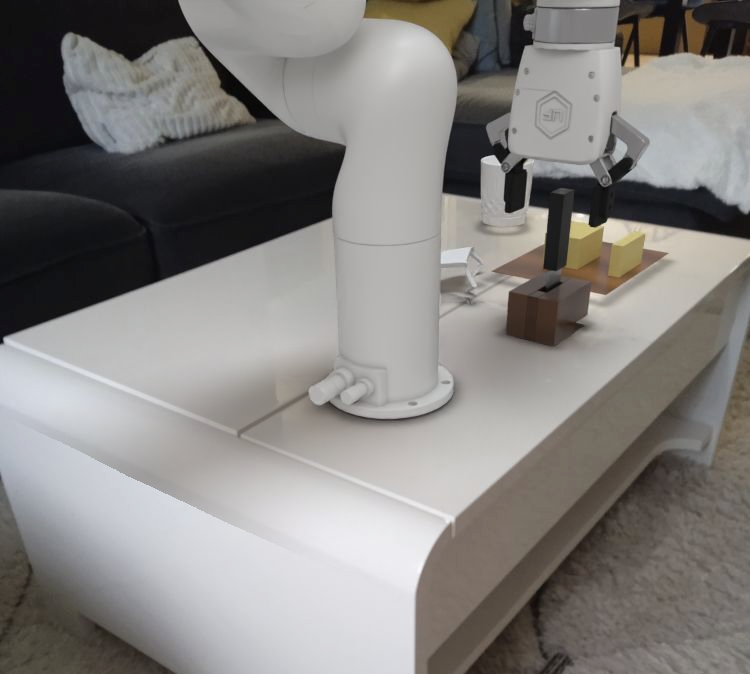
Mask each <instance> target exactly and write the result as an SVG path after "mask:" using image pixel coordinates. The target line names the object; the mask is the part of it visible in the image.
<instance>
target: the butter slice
mask: <svg viewBox="0 0 750 674" xmlns="http://www.w3.org/2000/svg"><path fill="white" fill-rule="evenodd" d="M646 235H647V233H646V232H644V231H638V230H635V231H632V232H631V233H629V234H627V235H625V236H624V237H622V238H620V239H619V240H617V241H615V242H613V243H614V244H612V249H611V256H610V264H609V271H608V276H612V277H617V278H619V277H621V276H622V275H624V274H625V273H627V272H628V271H630V270H632V269H633V268H635V267H636V266H638V265H639V264H641V260H642V254H643V249H644V247H645V240H646Z"/></svg>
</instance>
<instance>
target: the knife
mask: <svg viewBox="0 0 750 674" xmlns="http://www.w3.org/2000/svg"><path fill="white" fill-rule="evenodd" d="M574 197H575V189H570V188H565V187H560V188H557V189H555V190H552V191H551V192H549V202H548V212H547V223H546V232H547V233H546V232H545V233H546V243H545V242H544V243H545V254H544V265H543V269H547V270H548V271H547V277H546V288H545V293H547V292H549V291H551V290H552V289H554V288H556V287H557V286H559V285H560V281H561V271H562V268H563V267H565V266H566V264H567V255H568V245H569V236H570V227H571V221H572V219H573V218H572V216H573V209H574V208H573V207H574V199H575V198H574Z"/></svg>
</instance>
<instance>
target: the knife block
mask: <svg viewBox="0 0 750 674" xmlns="http://www.w3.org/2000/svg"><path fill="white" fill-rule="evenodd" d="M546 277H547V273H546V272H543V273H541V274H539V275H538V276H536V277H534V278H532V279H528V280H527V281H525V282H523V283H521V284H520V285H518V286H516V287H514V288H512V289H511V290H509V291H508V298H507V310H506V312H507V313H506V324H505V326H506V327H505V335H506V336H510V337H511V336H512V337H515V338H519V339H522V340H526V341H530V342H535V343H538V344H543V345H546V346H550V347H555V346H557V345H558V344H560V343H561V342H563V341H564V340H565V339H567V338H568V337H570V336H571V335H572V334H574V333H575V332H576V331H578V330H580V329H581V328H582V327H584V326H585V324H584V323H579V321H581V320H582V319H583V318H584V317H586V316H588V312H589V306H590V299H591V298H590V297H591V292H590V291H591V283H592V282H591V281H587V280H582V279H577V278H571V277H566V276H561V281H560V285H559V286H557V287H556V288H554V289H552V290H551V291H549V292H547V293H545V288H546Z"/></svg>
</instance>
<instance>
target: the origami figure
mask: <svg viewBox="0 0 750 674" xmlns="http://www.w3.org/2000/svg"><path fill="white" fill-rule="evenodd" d="M470 257H471V258H472V259H474V260H475V261H476V262H477V263H479V264H478V266H477V267H476V269H475V270H474V271H473V273H471V271H470V270H469V268H468V262H469V260H470ZM485 265H486V262H485V261H484V260H483V259H482V258H481V257H480V256H479V255H478V253H477V252H476V251H475V246H465V247H460V248H452V249H447V250H441V268H440V270H441V269H453V268H463V270H464V272H465V274H466V276H467V278H468V280H469V282H470V286H468V287H467V288H466V289H465V291H464V293H467V294H469V293H470V292H471V291H473V290H474V289H476V288H477V286H478V284H477V282H476V280H475V279H474V276H476V275H477V274H478V273H479V271H480V270H481V269H482V268H483V267H484V266H485ZM464 300H465V301H466V304H467V305H472V301H471V299H470V297H467V296H464Z"/></svg>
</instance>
